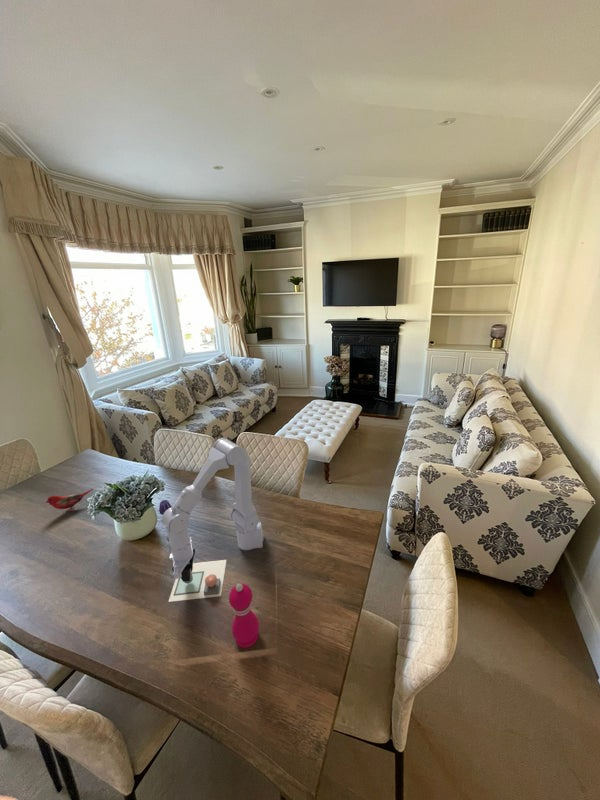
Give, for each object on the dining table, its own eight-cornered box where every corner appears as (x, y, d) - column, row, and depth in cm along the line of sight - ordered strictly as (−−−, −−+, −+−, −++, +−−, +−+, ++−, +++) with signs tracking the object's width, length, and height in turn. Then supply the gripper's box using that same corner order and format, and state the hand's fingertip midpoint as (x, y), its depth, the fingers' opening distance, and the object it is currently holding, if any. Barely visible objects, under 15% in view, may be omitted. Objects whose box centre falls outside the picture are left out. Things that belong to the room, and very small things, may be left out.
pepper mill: (235, 626, 93) (226, 574, 86) (260, 623, 93) (253, 571, 86) (232, 653, 86) (222, 599, 79) (259, 650, 87) (252, 596, 80)
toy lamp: (174, 542, 124) (166, 506, 119) (163, 540, 125) (154, 505, 120) (181, 533, 129) (173, 498, 123) (170, 531, 130) (162, 497, 124)
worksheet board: (226, 561, 114) (226, 556, 114) (221, 598, 101) (220, 592, 101) (180, 566, 114) (179, 561, 113) (169, 604, 100) (167, 598, 100)
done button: (218, 580, 105) (217, 573, 104) (216, 589, 102) (215, 583, 101) (207, 581, 105) (206, 575, 104) (205, 591, 101) (203, 584, 100)
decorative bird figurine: (50, 516, 142) (43, 497, 139) (96, 498, 153) (90, 480, 149) (51, 519, 140) (43, 500, 137) (97, 501, 151) (91, 482, 147)
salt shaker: (194, 575, 107) (190, 559, 105) (192, 583, 104) (188, 566, 102) (184, 576, 107) (181, 560, 104) (182, 584, 104) (178, 567, 102)
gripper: (173, 527, 107) (181, 559, 111) (159, 563, 93) (168, 597, 98) (195, 525, 107) (201, 556, 112) (184, 561, 94) (192, 595, 98)
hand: (187, 575), depth 105 cm, fingers closed on salt shaker, 3 cm apart
